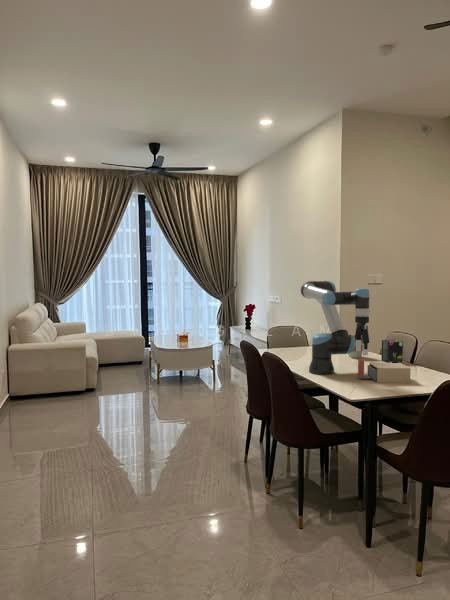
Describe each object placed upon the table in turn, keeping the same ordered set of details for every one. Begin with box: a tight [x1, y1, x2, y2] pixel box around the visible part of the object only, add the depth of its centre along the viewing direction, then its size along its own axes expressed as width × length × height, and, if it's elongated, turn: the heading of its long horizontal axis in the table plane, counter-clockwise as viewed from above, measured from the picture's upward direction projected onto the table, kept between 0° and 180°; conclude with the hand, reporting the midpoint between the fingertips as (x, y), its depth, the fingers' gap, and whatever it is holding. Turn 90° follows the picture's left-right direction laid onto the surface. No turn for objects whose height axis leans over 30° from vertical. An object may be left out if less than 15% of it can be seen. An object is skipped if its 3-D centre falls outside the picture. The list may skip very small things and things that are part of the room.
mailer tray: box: [357, 359, 377, 381], centre depth 252 cm, size 24×12×10 cm, turn 88°
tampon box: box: [380, 339, 404, 363], centre depth 304 cm, size 11×9×15 cm
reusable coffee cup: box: [347, 335, 363, 359], centre depth 320 cm, size 12×13×15 cm
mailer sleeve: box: [369, 362, 412, 383], centre depth 252 cm, size 18×15×8 cm
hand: (361, 353), depth 251 cm, fingers open, 13 cm apart
